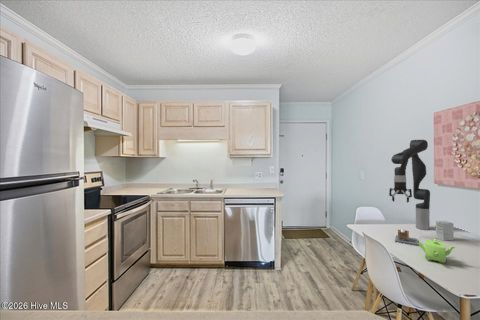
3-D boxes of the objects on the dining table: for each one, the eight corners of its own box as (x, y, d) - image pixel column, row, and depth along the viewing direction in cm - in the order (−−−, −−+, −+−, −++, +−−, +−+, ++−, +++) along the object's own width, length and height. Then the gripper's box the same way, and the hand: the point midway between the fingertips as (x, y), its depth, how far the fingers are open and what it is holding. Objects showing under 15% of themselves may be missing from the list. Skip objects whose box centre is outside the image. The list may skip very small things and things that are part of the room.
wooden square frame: (398, 235, 175) (398, 229, 175) (408, 237, 171) (408, 231, 171) (397, 237, 170) (397, 231, 170) (408, 239, 166) (408, 233, 166)
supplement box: (446, 237, 178) (446, 220, 177) (453, 240, 170) (454, 223, 170) (435, 236, 178) (435, 220, 178) (442, 240, 171) (442, 223, 171)
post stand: (395, 236, 180) (395, 226, 179) (417, 240, 172) (417, 229, 172) (395, 242, 169) (395, 230, 169) (417, 246, 162) (417, 234, 161)
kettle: (434, 253, 149) (435, 236, 149) (458, 264, 135) (458, 244, 135) (413, 255, 147) (413, 237, 147) (435, 266, 133) (435, 246, 133)
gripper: (411, 180, 179) (411, 201, 179) (389, 180, 187) (389, 200, 187) (411, 182, 173) (412, 203, 173) (388, 181, 181) (389, 202, 181)
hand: (400, 202), depth 180 cm, fingers open, 8 cm apart
